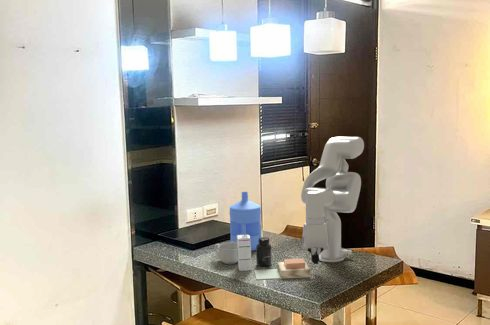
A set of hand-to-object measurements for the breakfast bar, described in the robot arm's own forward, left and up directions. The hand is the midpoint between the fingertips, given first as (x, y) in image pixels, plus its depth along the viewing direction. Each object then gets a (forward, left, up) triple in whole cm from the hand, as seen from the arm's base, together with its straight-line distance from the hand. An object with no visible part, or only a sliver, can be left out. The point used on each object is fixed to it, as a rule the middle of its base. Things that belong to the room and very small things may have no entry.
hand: (315, 263), depth 208 cm
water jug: (+26, -41, -4) cm, 49 cm away
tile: (+9, 0, -1) cm, 9 cm away
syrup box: (+29, -9, -4) cm, 31 cm away
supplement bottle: (+20, -13, -4) cm, 25 cm away
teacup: (+36, -20, -4) cm, 42 cm away
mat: (+14, 0, -4) cm, 15 cm away
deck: (+9, 0, -4) cm, 10 cm away
